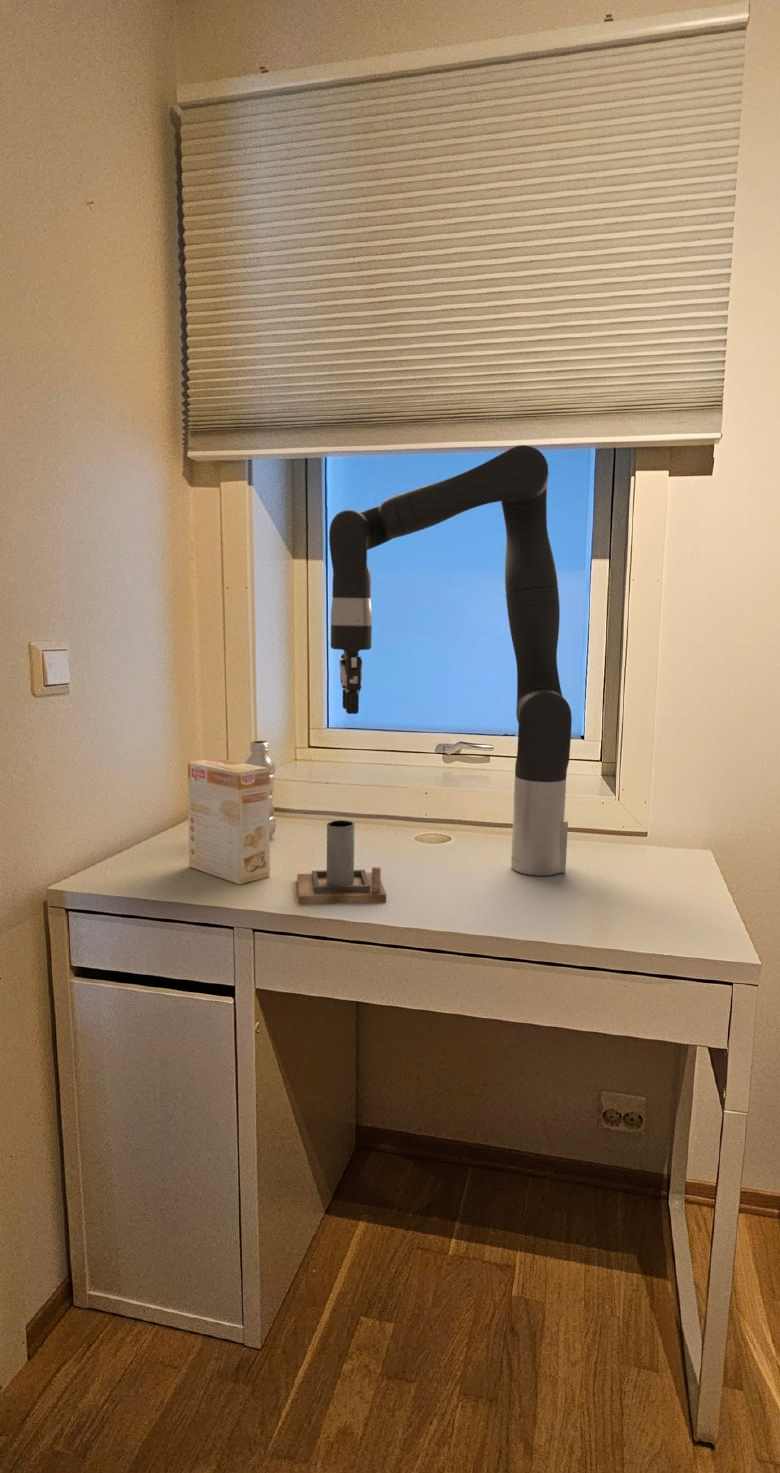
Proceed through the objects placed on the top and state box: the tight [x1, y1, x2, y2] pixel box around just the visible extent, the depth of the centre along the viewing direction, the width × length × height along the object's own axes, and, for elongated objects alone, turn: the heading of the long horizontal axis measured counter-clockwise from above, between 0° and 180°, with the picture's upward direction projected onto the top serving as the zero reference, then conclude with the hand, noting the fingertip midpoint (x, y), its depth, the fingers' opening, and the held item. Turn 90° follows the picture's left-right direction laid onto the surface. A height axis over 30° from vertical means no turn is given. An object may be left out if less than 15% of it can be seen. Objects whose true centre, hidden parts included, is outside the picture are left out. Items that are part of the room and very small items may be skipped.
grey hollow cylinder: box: [326, 819, 355, 885], centre depth 141 cm, size 4×4×10 cm
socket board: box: [296, 866, 387, 905], centre depth 141 cm, size 14×12×5 cm
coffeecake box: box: [187, 757, 271, 885], centre depth 150 cm, size 15×7×20 cm, turn 48°
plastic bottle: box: [244, 740, 277, 838], centre depth 173 cm, size 6×7×20 cm
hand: (350, 711), depth 158 cm, fingers open, 8 cm apart
